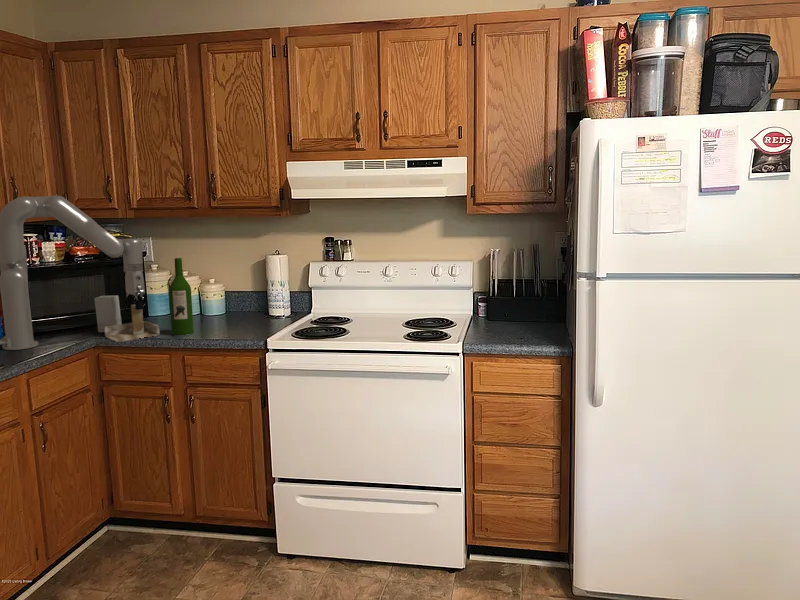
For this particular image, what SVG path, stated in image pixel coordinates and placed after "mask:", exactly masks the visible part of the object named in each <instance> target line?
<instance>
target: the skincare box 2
mask: <svg viewBox="0 0 800 600" xmlns="http://www.w3.org/2000/svg"><path fill="white" fill-rule="evenodd" d="M130 310H131V323H132V326H133V334H134V335H138V334H144V325H143V321H144V315H143V313H144V312H143V309H139V310H136V307H135V305H131V307H130Z"/></svg>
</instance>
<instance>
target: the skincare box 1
mask: <svg viewBox="0 0 800 600" xmlns="http://www.w3.org/2000/svg"><path fill="white" fill-rule="evenodd" d="M119 299H120V297H119V295H117V294H116V295H100V296H97V297H94V306H95V314H96V323H97V324H96V325H97V332H98V333H105V331H104V327H106V326H113V325H120V324H123V323H122V315H121V307H120V300H119Z"/></svg>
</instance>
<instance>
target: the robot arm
mask: <svg viewBox="0 0 800 600" xmlns="http://www.w3.org/2000/svg"><path fill="white" fill-rule="evenodd" d="M52 217H53V218H55V220H57V221H58V222H60V223H62V224H63V225H64V226H65V227H67V228H68V229H69V230H71V231H72V232H73V233H75V234H76V235H78V236H79V237H80V238H82V239H84V240H86V241H87V242H89V243H90V244H92V245H93V246H95V247H96V248H98V249H99V250H100V251H101V252H103V253H104V254H105V255H107V256H108V257H110V258H118V257H121V256H122V257H123V258H122V259H123V272H124V273H125V275H124V276H125V277H124V278H125V279H124V281H125V293H126V294H125V295H126V307H127V308H128V307H129V308H131V305H135V307H136V310H139V309H142V310H144V309H145V308H144V307H145V306H144V296H145V293H146V291H145V289H146V288H145V280H144V273H143V272H144V267H143V265H144V264H143V263H144V262H143V261H144V258H143V245H142V240H141V239H139V238H125V239H124V238H117V237H115V236H114V235H112V234H111V233H110V232H108V231H107V230H106V229H105V228H103V227H102V226H101V225H99V224H98V223H97V222H96V221H95V220H94V219H93V218H92V217H90V216H89V215H88V214H86V213H85V212H84V211H83V210H81V209H79V208H78V207H77V206H76V205H74V204H73V203H72V202H70V201H69V200H68V199H66V198H65V197H63V196H61V195H47V196H24V195H23V196H19V197H16V198H15V199H12V200H11V201H9V202H7V204H5V205H4V206H3V207H2V209H1V211H0V297H1V298H0V299H1V305H2V314H3V315H2V316H3V322H4V333H5V335H4V336H3V338H1V339H0V346H1V347H2V350H6V351H20V350H26V349H31V348H35V347H37V346H39V341H37V340H34V330H33V320H32V310H31V302H30V293H29V281H28V279H29V276H28V275H29V274H28V262H27V259H28V258H27V248H26V246H25V240H24V239H25V238H24V223H25V221H26V219H30V218H52Z"/></svg>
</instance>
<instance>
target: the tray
mask: <svg viewBox="0 0 800 600" xmlns="http://www.w3.org/2000/svg"><path fill="white" fill-rule="evenodd" d="M143 325H144V334H138V335H134V334H133V326H132V322H128V323H122V324H120V325H113V326H106V327H104V331H105V332H104V337H105V338H106V339H108V340H111V341H113V342H115V343H121V342H128V341H133V340H140V339H139V338H141V339H145V338H144V337H148V338H152V336H154V337H159V336H158V335H160V336H161V334H160V332H161V331H160V325H159V324H156V323H154V322H151V321H148V320H145V321H144V320H143Z"/></svg>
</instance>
